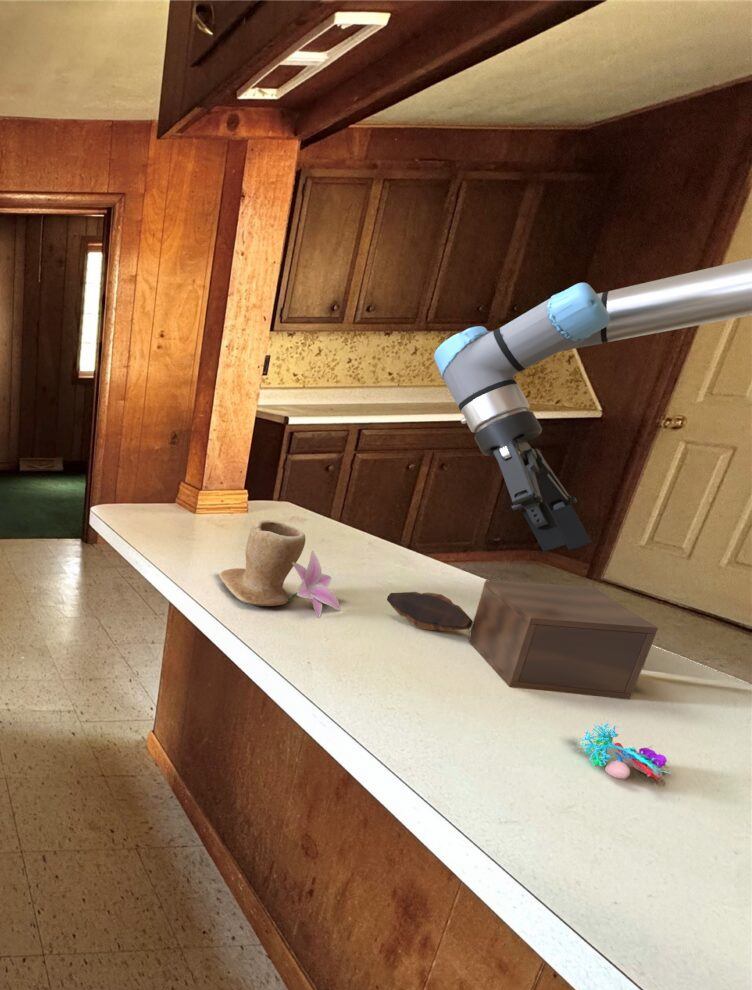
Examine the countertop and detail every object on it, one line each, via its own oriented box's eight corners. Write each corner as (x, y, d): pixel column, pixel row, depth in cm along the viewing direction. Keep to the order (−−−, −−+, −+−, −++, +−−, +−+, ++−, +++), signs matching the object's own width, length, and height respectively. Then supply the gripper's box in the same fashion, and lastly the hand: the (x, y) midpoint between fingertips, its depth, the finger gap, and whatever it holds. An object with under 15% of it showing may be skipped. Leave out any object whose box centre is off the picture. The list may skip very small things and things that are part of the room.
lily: (280, 624, 120) (316, 587, 114) (254, 580, 128) (286, 543, 122) (331, 635, 123) (369, 600, 117) (303, 592, 132) (336, 556, 125)
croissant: (396, 577, 117) (407, 586, 120) (375, 610, 118) (386, 619, 121) (481, 603, 106) (490, 613, 109) (457, 640, 107) (467, 649, 110)
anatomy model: (708, 764, 70) (666, 723, 76) (615, 754, 72) (581, 716, 78) (686, 799, 72) (647, 757, 78) (597, 789, 75) (565, 749, 80)
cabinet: (468, 641, 109) (485, 579, 105) (571, 650, 104) (593, 586, 100) (509, 686, 95) (530, 617, 91) (630, 699, 90) (658, 627, 87)
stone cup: (304, 611, 122) (317, 533, 117) (237, 610, 124) (247, 533, 118) (277, 583, 136) (287, 512, 131) (217, 582, 138) (225, 512, 132)
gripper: (499, 441, 112) (560, 555, 107) (444, 428, 98) (511, 559, 92) (553, 416, 107) (620, 535, 101) (503, 398, 92) (579, 536, 87)
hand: (568, 547), depth 97 cm, fingers open, 13 cm apart
